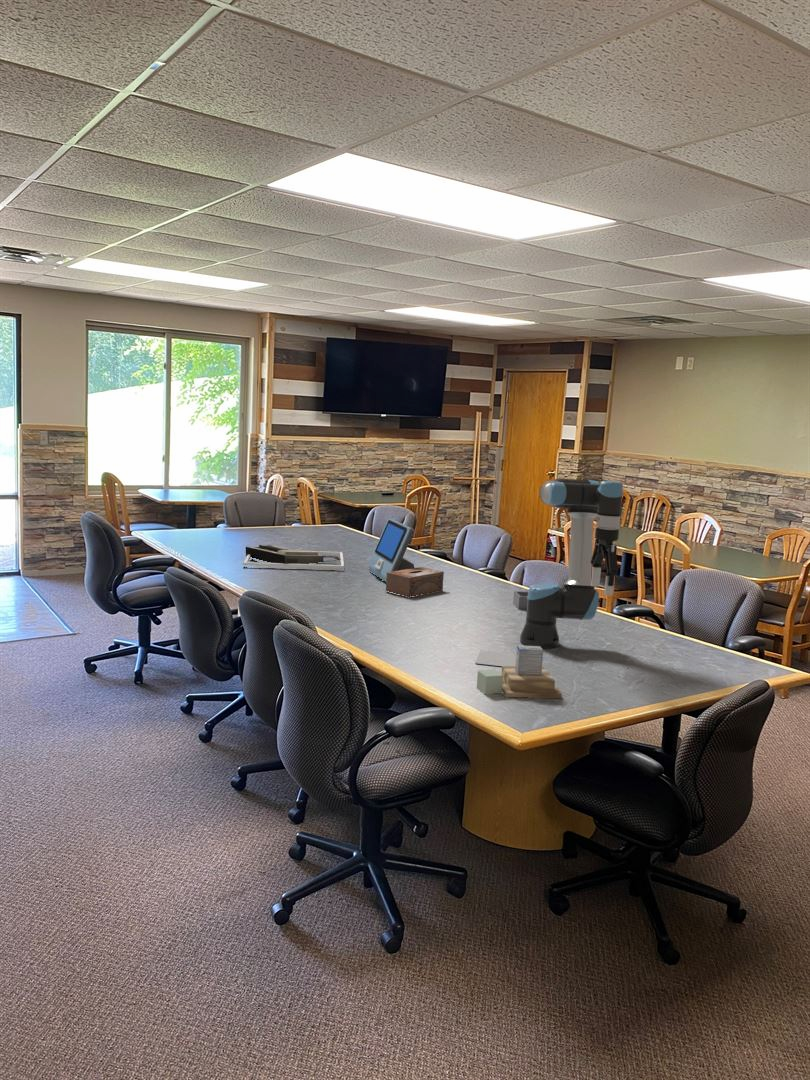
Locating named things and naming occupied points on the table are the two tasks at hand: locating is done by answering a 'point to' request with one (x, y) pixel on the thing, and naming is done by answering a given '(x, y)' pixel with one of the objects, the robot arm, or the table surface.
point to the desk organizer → (520, 599)
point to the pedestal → (528, 684)
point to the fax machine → (284, 555)
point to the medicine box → (529, 660)
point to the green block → (489, 681)
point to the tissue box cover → (414, 581)
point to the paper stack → (496, 658)
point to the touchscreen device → (391, 549)
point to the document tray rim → (300, 564)
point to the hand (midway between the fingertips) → (601, 590)
